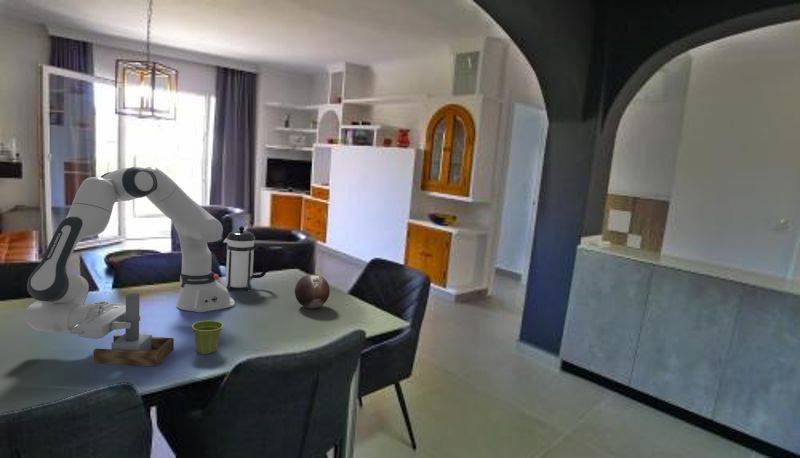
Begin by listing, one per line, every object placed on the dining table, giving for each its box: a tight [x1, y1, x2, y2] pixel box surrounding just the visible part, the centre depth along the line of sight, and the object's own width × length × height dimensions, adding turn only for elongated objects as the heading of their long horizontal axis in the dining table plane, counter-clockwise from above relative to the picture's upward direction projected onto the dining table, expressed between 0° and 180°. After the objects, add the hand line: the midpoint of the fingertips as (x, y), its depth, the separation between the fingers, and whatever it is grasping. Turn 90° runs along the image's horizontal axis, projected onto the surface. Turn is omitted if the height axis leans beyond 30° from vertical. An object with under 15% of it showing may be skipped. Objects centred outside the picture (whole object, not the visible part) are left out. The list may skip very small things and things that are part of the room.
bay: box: [93, 334, 175, 367], centre depth 141 cm, size 18×12×4 cm, turn 95°
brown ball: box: [294, 273, 331, 309], centre depth 200 cm, size 15×15×15 cm
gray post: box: [111, 292, 153, 351], centre depth 140 cm, size 8×8×19 cm
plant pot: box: [191, 320, 224, 355], centre depth 149 cm, size 9×9×9 cm
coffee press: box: [223, 225, 269, 291], centre depth 218 cm, size 17×16×30 cm
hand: (135, 322), depth 140 cm, fingers closed on gray post, 4 cm apart
